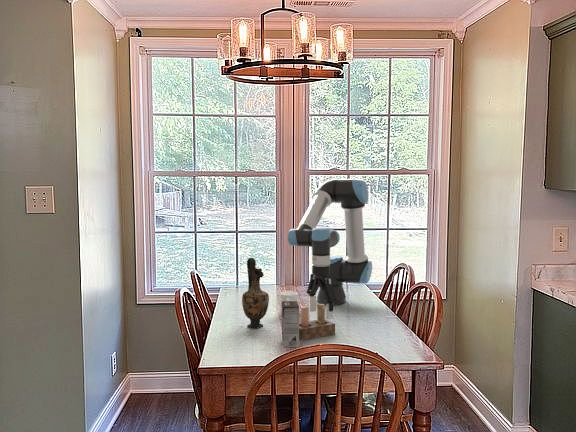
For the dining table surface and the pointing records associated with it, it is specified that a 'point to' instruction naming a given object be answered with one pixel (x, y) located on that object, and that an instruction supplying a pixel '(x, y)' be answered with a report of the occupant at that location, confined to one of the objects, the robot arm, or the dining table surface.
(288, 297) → the mug
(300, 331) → the hole block
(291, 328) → the coffee box
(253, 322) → the vase
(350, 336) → the dining table surface
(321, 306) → the oak peg
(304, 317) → the terracotta peg
